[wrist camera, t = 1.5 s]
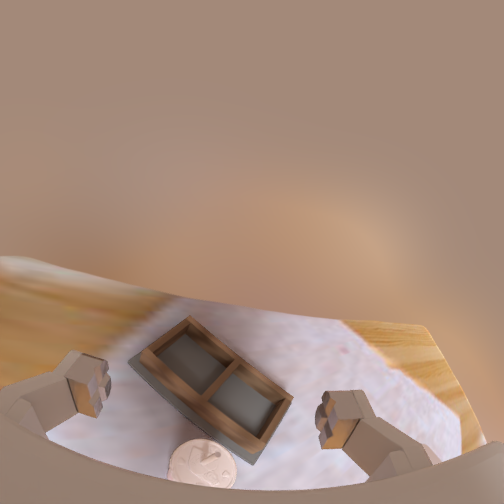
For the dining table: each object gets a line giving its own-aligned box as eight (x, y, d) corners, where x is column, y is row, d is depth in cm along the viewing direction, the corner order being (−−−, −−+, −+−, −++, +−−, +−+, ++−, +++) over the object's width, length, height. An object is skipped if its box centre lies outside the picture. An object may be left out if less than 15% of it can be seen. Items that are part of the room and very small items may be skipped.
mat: (127, 362, 35) (127, 361, 35) (184, 320, 46) (185, 318, 45) (252, 465, 30) (253, 464, 30) (290, 404, 41) (291, 403, 41)
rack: (139, 361, 35) (141, 351, 34) (184, 326, 44) (189, 315, 43) (252, 454, 31) (262, 449, 30) (283, 404, 40) (293, 397, 38)
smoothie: (191, 448, 29) (232, 415, 22) (216, 489, 26) (271, 473, 18) (146, 463, 25) (167, 440, 18) (172, 507, 21) (208, 507, 14)
